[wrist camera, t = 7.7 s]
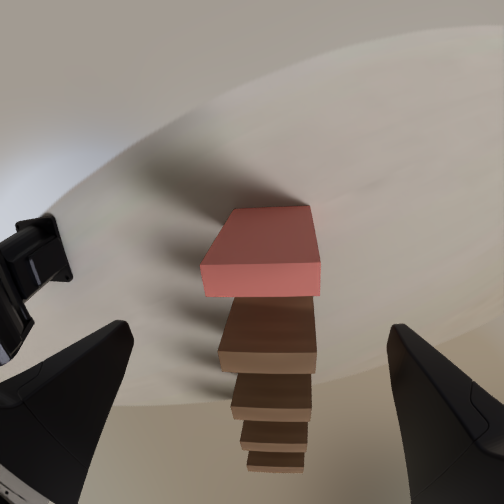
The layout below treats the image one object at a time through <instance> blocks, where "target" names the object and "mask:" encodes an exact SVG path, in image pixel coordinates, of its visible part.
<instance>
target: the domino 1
mask: <svg viewBox="0 0 504 504" xmlns="http://www.w3.org/2000/svg"><path fill="white" fill-rule="evenodd" d="M200 270H201V275H202V280H203V285H204V290H205V295H206V297H293V296H320V271H321V261H320V256H319V250H318V245H317V239H316V234H315V229H314V223H313V218H312V213H311V208H310V206H286V207H262V208H241V209H234V210H233V211H232V213H231V214H230V216H229V218H228V219H227V221H226V223H225V224H224V226H223V227H222V229H221V231H220V232H219V234H218V236H217V237H216V239H215V240H214V242H213V244H212V245H211V247H210V249H209V250H208V252H207V254H206V255H205V257H204V259H203V260H202V262H201V264H200Z"/></svg>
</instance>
